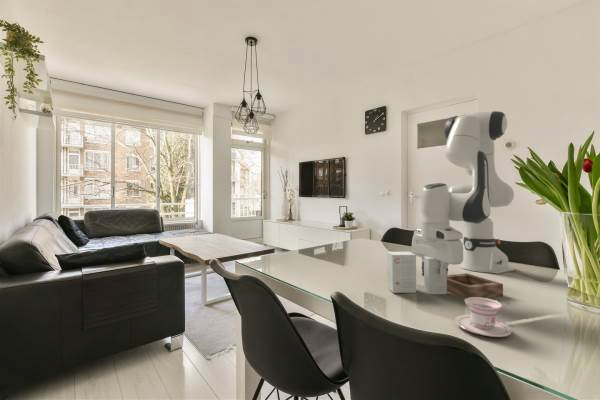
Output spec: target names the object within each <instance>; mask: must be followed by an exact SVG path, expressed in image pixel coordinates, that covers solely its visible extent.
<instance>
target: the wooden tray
mask: <svg viewBox="0 0 600 400" xmlns="http://www.w3.org/2000/svg"><path fill="white" fill-rule="evenodd" d="M447 292H448V293H449V294H453V295H455V296H456V297H457V296H458V297H460V298H462V299H464V300H465V299H466V298H470V297H481V298H488V299H491V298H498V297H503V296H504V284H503V283H502V282H498V281H495V280H491V279H487V278H484V277H481V276H477V275H473V274H471V273H467V272H466V273H457V274H447Z"/></svg>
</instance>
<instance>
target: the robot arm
mask: <svg viewBox="0 0 600 400" xmlns="http://www.w3.org/2000/svg"><path fill="white" fill-rule="evenodd" d="M507 128H508V119H507V117H506V114H505V113H504V112H503V111H497V110H496V111H495V110H494V111H488V112H487V111H484V112H473V113H469V114H461V115H459V116H458V115H455V116H450V117H449V118H447V120H446V121H445V124H444V127H443V129H444V130H443V132H444V136H445V139H446V143H445V147H444V148H445V149H444V150H445V151H444V154H445V158H446V159H447V160H448V161H449V162H450V163H451V164H453V165H455V166H456V167H460V168H464V171H465V172H466V174H468V175H469V176H471V182H470V183H458V184H453V185H451V186H450V187H448V185H447V184H446V183H443V182H440V183H439V182H438V183H437V182H436V183H430V184H427V185H424V187H422V191H421V197H420V212H421V218H420V219H421V220H420V228H416V229H415V231H413V235H412V239H411V240H412V241H411V253H413V254H415V255H416V256H417V255H418V256H421V260H422V261H423V262H424V257H430V258H433V259H435V260H438V261H440V264H441V268H439V269H438V273H439V274H441V275H445V274H446V269H447V268H448V267H449V265H460V268H461V269H465V270H467V271H468V270H469V271H472V272H478V273H479V272H481V273H491V274H498V275H499V274H502V273H507V272H513V271H515V270H516V268H515V267H514V266H511V265H509V257H508V256H507V255H506V253H505V252H503V251H501V250H500V248H498V247H497V244H498V245H500V244H501V240H500V239H499V238H498V239H497V238H494V222H493V220H492V219H491V218H489V217H490V215H491V208H502V207H507V206H509V205H510V204H512V202H513V200H514V197H515V193H514V189H513V188H512V187H511V186H510V185H509V184H508V183H506V182H504V181H503V180H502V179H501V178H500V177H499V175H498V173H497V171H496V167H495V166H496V165H495V141H496V140H497V139H499V138H501V137H502V136H503V135H505V133H506V130H507ZM450 221H452V222H463V227H464V235H463V233H462V232H461V231H459V230H457V229H455V228H454V227H452V226H450ZM463 236H464V237H463Z"/></svg>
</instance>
